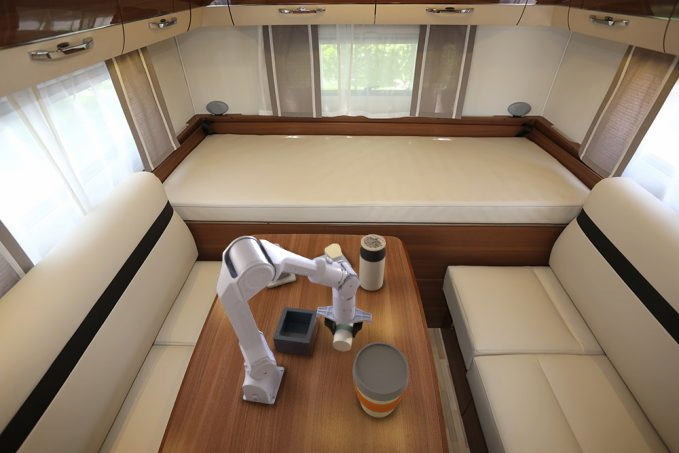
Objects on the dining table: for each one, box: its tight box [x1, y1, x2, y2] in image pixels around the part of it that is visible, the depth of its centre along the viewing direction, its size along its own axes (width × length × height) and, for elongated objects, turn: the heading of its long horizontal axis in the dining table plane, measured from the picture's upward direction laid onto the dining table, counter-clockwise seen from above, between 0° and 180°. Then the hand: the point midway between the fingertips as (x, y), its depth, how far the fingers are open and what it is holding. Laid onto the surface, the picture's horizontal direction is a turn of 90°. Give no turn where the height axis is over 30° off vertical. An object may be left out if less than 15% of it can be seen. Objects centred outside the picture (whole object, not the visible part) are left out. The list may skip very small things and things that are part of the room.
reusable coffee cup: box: [352, 341, 410, 418], centre depth 77 cm, size 13×13×15 cm
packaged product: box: [266, 242, 297, 289], centre depth 117 cm, size 18×5×10 cm
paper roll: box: [332, 322, 354, 352], centre depth 93 cm, size 9×5×5 cm, turn 171°
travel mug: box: [358, 233, 387, 292], centre depth 107 cm, size 8×8×18 cm
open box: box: [272, 306, 320, 357], centre depth 94 cm, size 11×10×6 cm
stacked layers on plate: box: [319, 243, 352, 268], centre depth 119 cm, size 10×9×6 cm
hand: (344, 333), depth 93 cm, fingers closed on paper roll, 5 cm apart
